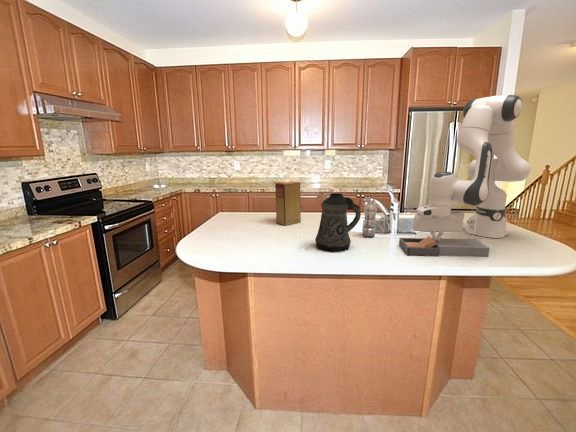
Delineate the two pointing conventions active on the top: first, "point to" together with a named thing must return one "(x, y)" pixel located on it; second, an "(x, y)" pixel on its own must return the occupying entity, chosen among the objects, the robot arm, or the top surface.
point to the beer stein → (336, 223)
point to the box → (417, 248)
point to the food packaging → (288, 203)
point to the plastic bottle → (370, 218)
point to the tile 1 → (412, 244)
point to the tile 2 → (427, 243)
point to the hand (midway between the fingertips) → (436, 240)
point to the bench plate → (461, 247)
